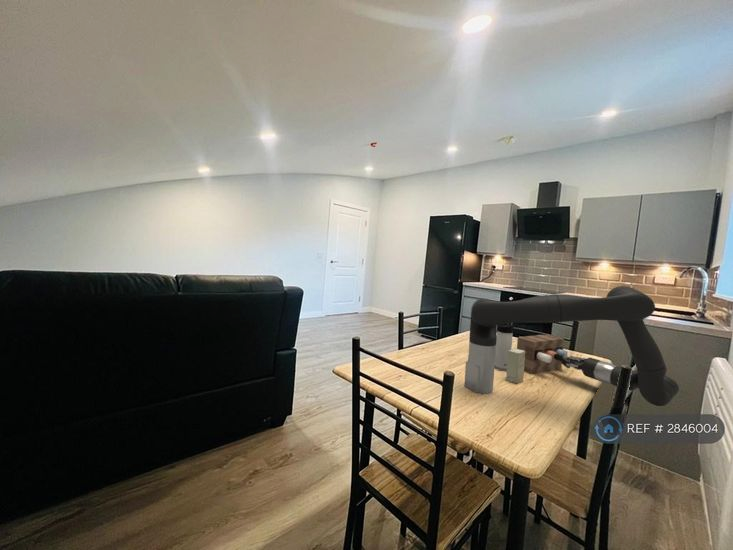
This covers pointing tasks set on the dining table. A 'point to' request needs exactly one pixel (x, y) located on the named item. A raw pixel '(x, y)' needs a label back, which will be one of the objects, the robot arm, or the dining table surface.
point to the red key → (550, 353)
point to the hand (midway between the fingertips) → (555, 356)
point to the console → (539, 345)
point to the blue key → (561, 352)
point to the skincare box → (515, 365)
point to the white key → (544, 357)
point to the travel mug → (503, 346)
